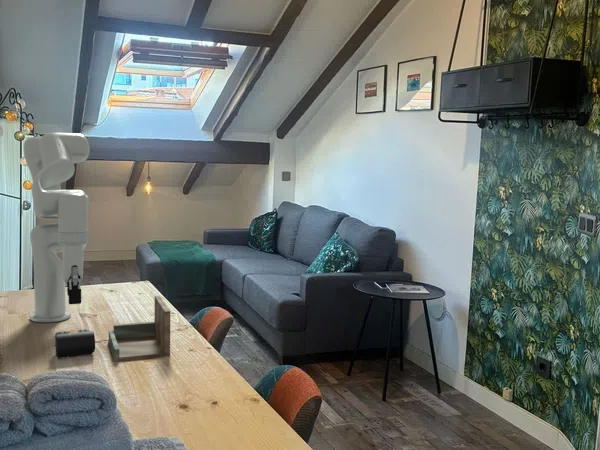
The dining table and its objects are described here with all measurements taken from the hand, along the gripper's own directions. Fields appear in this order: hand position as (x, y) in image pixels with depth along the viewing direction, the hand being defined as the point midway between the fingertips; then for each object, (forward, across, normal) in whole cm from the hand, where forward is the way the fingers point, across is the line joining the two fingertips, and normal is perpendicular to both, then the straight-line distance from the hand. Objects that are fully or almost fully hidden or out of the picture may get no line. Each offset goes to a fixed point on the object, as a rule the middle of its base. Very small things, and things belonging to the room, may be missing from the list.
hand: (74, 299), depth 169 cm
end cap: (+16, 0, 0) cm, 16 cm away
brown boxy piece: (+16, -1, +17) cm, 23 cm away
